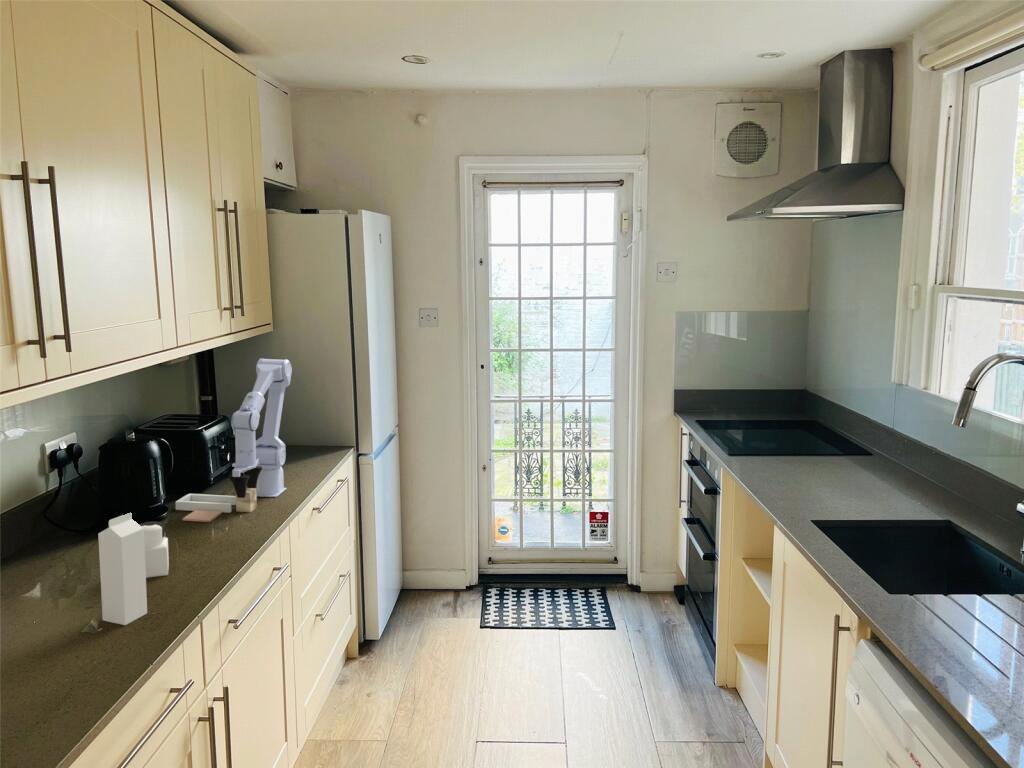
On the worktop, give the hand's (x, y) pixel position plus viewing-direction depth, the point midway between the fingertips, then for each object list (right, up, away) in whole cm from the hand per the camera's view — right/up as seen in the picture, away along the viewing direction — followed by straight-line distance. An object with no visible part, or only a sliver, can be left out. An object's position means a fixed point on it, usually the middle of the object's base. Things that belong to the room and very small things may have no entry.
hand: (246, 493), depth 228 cm
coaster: (-10, -6, -8) cm, 14 cm away
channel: (-11, -4, +1) cm, 12 cm away
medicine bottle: (-6, -12, -47) cm, 49 cm away
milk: (0, -16, -71) cm, 72 cm away
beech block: (0, -5, +1) cm, 5 cm away
